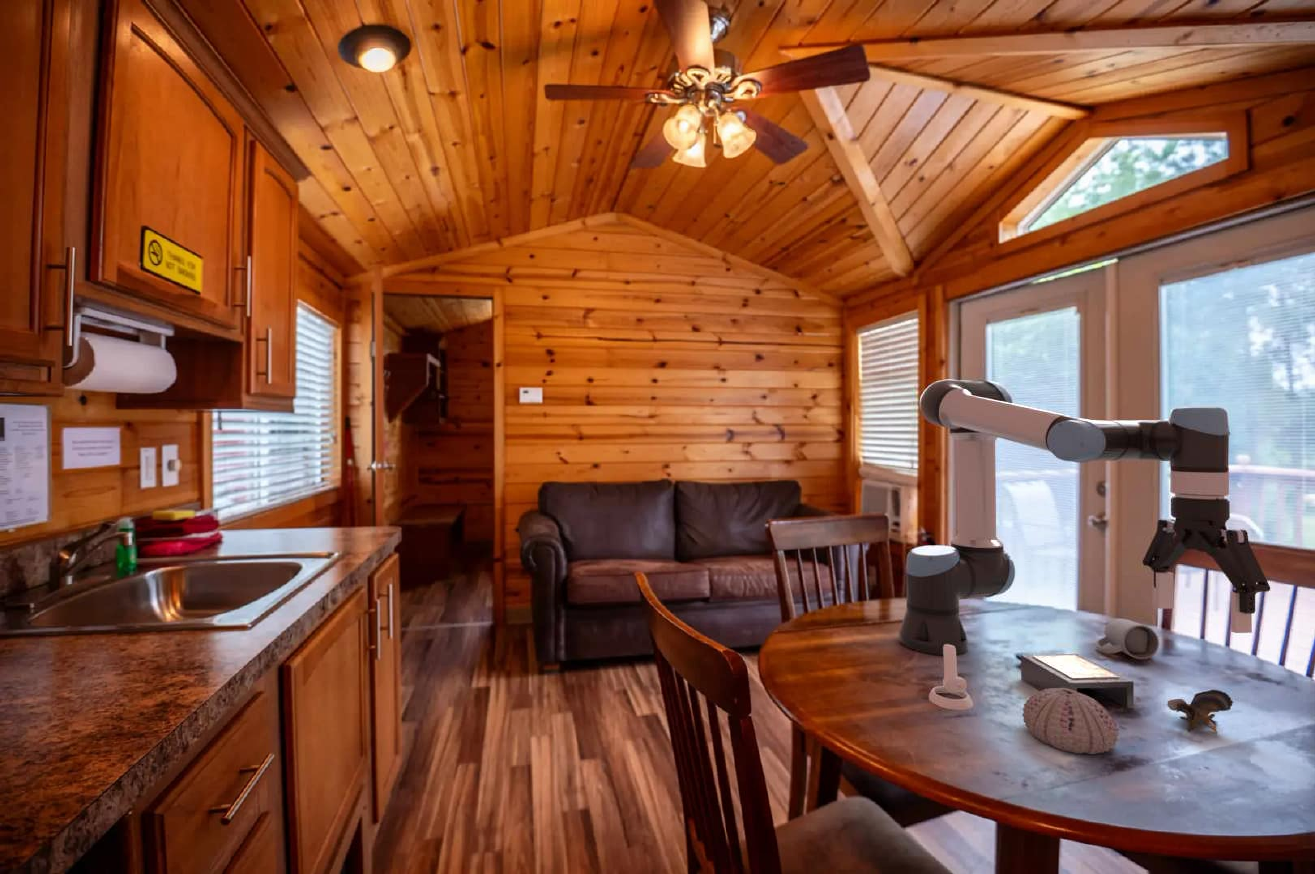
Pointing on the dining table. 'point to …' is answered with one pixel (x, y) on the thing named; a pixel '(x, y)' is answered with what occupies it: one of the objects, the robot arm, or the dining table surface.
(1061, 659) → the dark boxy piece
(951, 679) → the vr controller
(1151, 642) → the ceramic mug
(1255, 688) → the dining table surface
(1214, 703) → the eagle figurine
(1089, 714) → the sea urchin shell
